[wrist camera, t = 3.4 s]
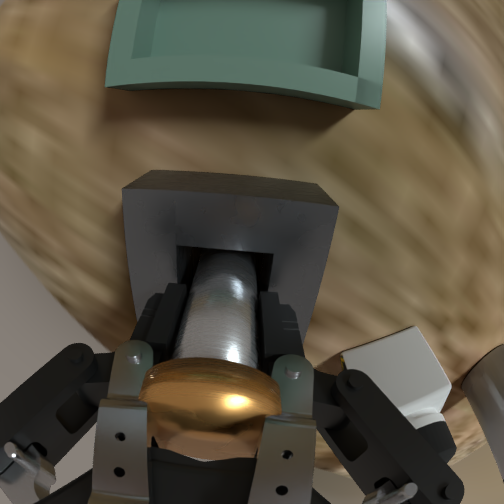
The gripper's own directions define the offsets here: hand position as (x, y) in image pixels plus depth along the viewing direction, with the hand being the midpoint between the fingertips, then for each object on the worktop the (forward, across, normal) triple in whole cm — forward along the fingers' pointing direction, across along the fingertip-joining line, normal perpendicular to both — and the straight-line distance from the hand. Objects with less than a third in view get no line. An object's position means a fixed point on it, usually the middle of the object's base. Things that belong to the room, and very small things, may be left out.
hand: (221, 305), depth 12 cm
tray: (+5, 0, -13) cm, 14 cm away
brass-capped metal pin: (+5, 0, 0) cm, 5 cm away
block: (+5, 0, 0) cm, 5 cm away
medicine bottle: (+5, -14, +10) cm, 18 cm away
